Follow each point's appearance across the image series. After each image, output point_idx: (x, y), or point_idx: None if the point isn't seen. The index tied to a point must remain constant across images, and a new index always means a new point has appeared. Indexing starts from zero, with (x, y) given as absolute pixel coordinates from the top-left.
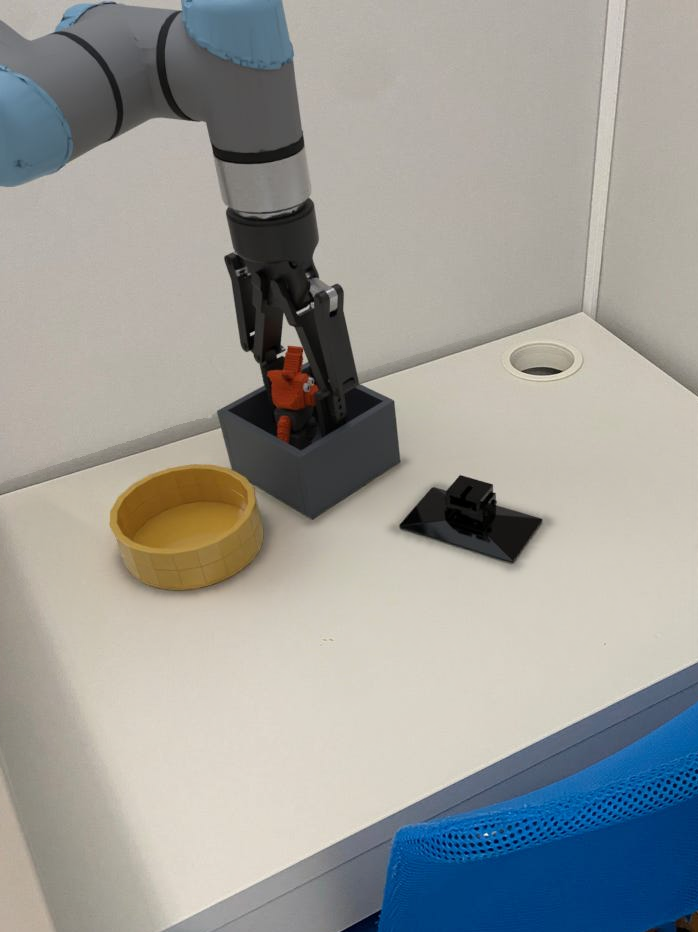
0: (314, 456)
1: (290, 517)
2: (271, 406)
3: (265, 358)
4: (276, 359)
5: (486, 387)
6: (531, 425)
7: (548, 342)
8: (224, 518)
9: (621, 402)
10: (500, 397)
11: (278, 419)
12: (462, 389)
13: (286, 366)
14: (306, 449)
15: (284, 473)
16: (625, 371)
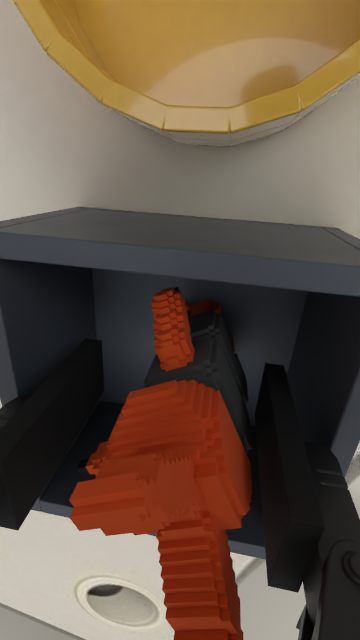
0: None
1: (117, 186)
2: (283, 396)
3: (321, 575)
4: (300, 572)
5: (131, 557)
6: (34, 516)
7: (139, 627)
8: (219, 66)
9: (2, 567)
10: (102, 546)
11: (199, 353)
12: (152, 547)
13: (202, 552)
14: None
15: (105, 222)
16: (40, 604)
